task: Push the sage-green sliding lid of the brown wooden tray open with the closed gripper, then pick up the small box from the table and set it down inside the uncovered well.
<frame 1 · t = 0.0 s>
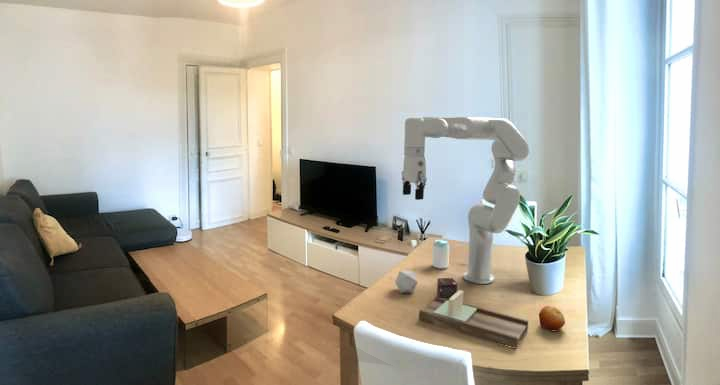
hand: (412, 196, 168), 37 cm above the table, tool pointing down, fingers open, 9 cm apart
can: (440, 267, 201), on the table
brown wooden tray: (472, 325, 147), on the table
lid: (455, 303, 149), point 6 cm above the table, slide at 0.0 cm
die: (406, 291, 174), on the table
box: (446, 299, 167), on the table
fruit: (550, 328, 146), on the table
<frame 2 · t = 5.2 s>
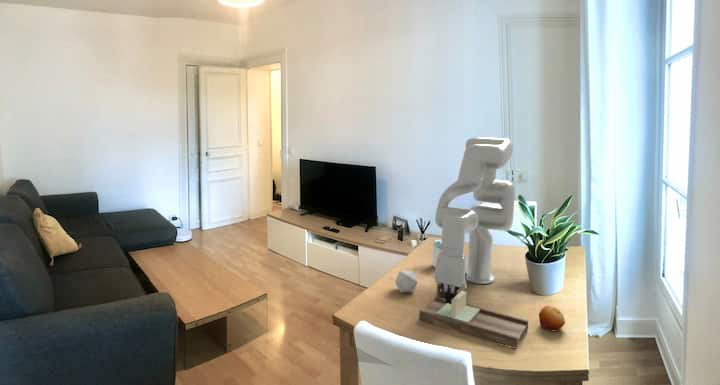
hand: (449, 302, 150), 6 cm above the table, tool pointing down, fingers closed
lid: (458, 304, 148), point 6 cm above the table, slide at 1.0 cm, touching gripper
everything else where it was.
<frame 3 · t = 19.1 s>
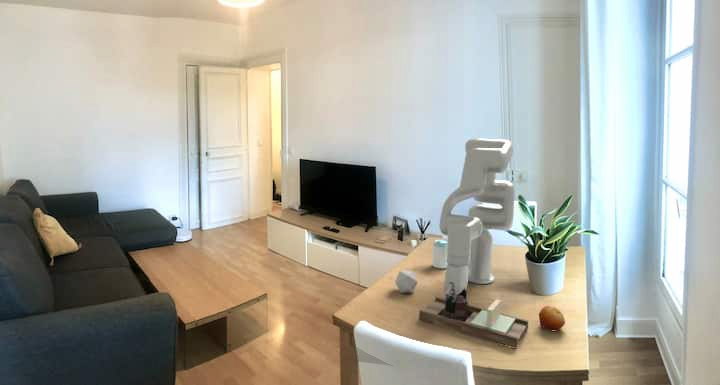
hand: (456, 306, 150), 5 cm above the table, tool pointing down, fingers open, 9 cm apart
lid: (493, 313, 142), point 6 cm above the table, slide at 12.8 cm
box: (455, 319, 150), resting on brown wooden tray, touching gripper
everything else where it was.
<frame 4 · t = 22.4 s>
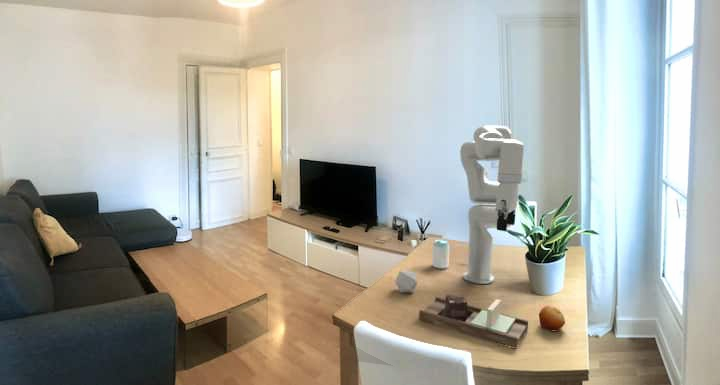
hand: (505, 227, 153), 30 cm above the table, tool pointing down, fingers open, 9 cm apart
box: (455, 319, 150), resting on brown wooden tray
everything else where it was.
at the end: lid slide at 12.8 cm; box inside the target area on the brown wooden tray (0.1 cm from its centre), point 0.2 cm above the brown wooden tray's base; the gripper is holding nothing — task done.
